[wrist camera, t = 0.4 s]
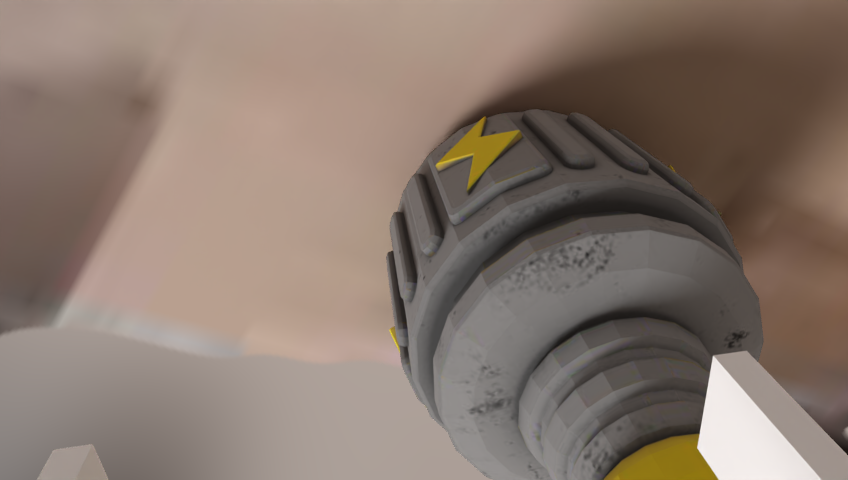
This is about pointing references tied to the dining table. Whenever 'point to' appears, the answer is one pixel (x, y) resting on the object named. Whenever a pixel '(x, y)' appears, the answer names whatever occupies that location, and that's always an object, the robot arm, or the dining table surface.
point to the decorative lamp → (564, 301)
